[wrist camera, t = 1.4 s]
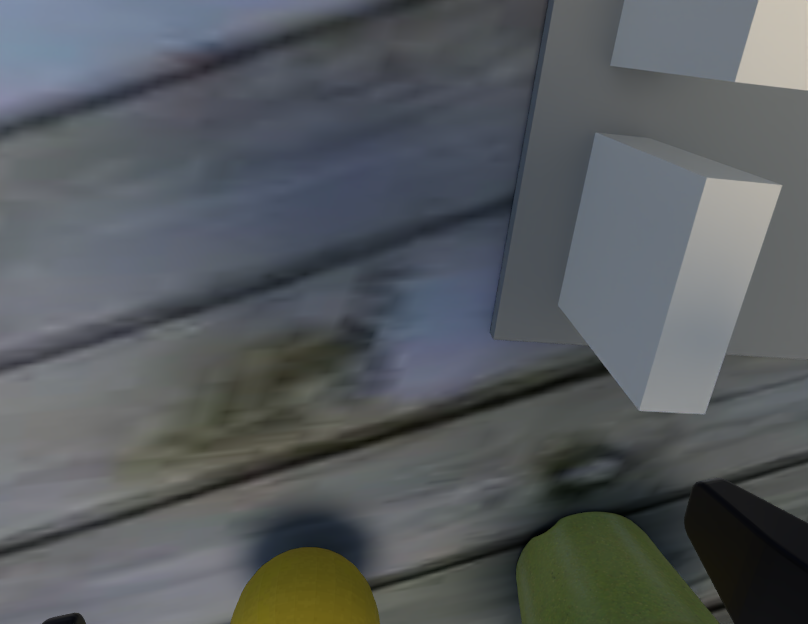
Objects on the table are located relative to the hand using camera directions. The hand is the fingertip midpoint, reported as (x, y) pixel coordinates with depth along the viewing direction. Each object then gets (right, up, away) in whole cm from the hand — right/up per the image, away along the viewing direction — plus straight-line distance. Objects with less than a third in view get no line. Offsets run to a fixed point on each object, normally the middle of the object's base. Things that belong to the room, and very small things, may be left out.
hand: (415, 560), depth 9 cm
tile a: (+6, +7, +13) cm, 16 cm away
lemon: (-4, -7, +18) cm, 20 cm away
